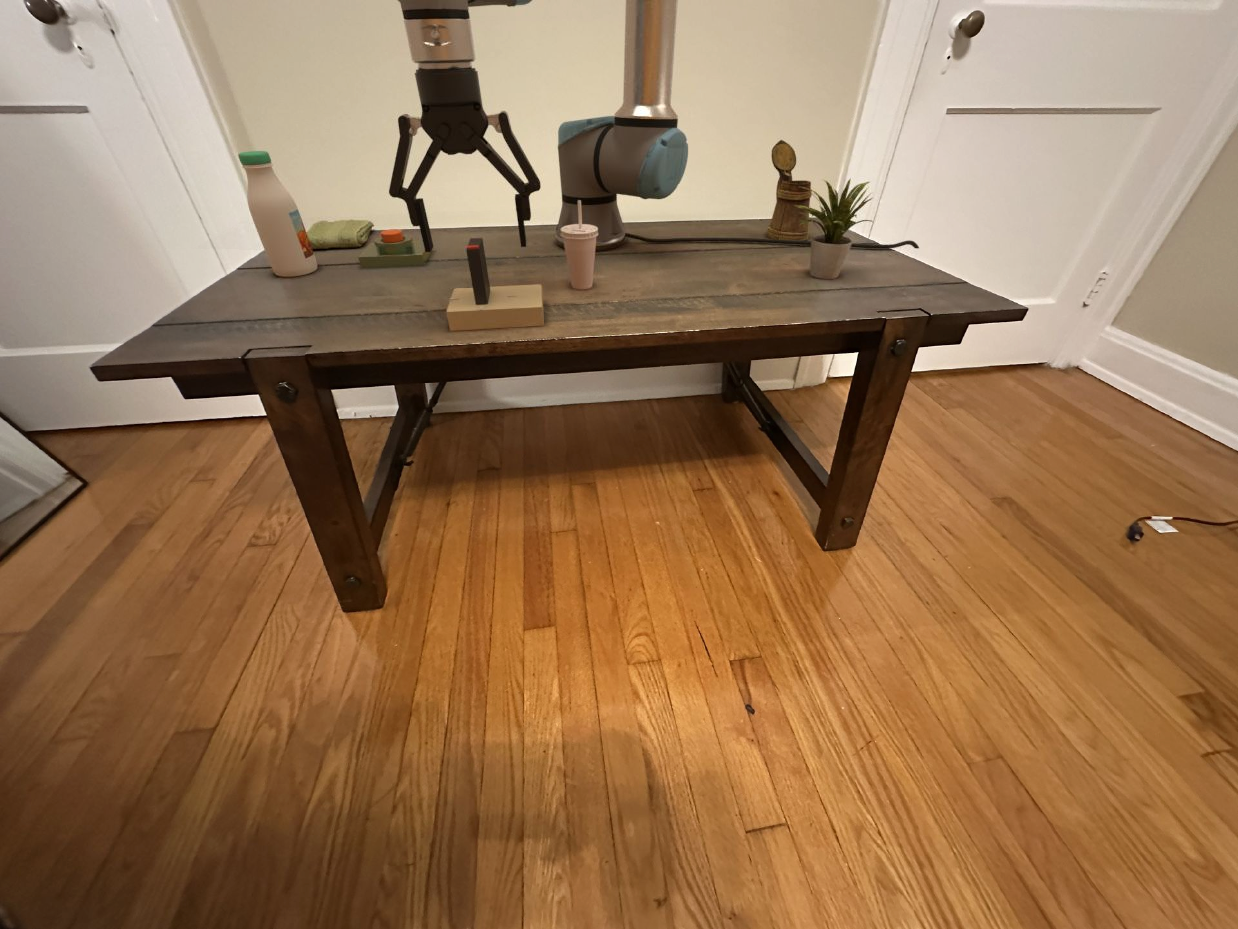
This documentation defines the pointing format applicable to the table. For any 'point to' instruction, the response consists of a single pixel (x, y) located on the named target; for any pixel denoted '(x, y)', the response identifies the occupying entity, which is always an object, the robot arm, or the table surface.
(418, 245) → the switch block
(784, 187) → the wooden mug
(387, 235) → the button
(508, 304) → the tan wooden block
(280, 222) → the milk bottle
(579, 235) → the smoothie
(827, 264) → the house plant
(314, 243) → the washcloth
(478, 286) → the black rectangular block
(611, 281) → the table surface
